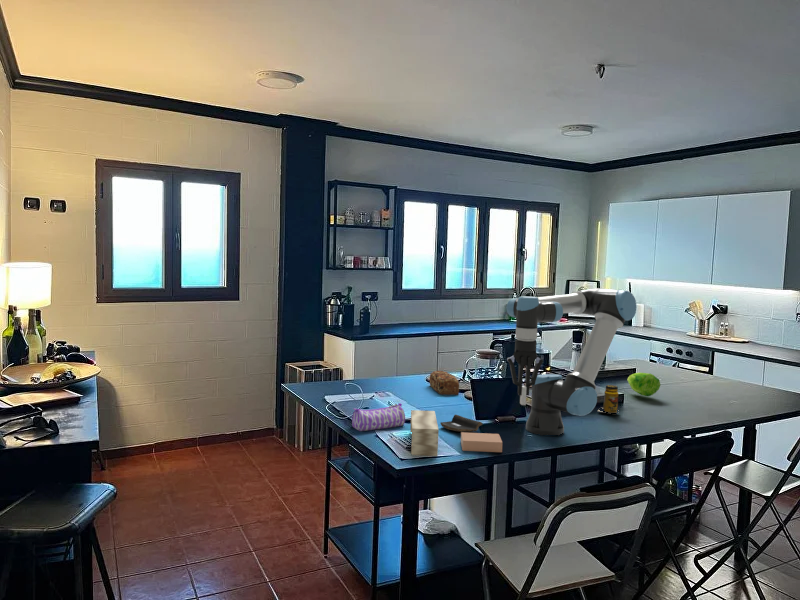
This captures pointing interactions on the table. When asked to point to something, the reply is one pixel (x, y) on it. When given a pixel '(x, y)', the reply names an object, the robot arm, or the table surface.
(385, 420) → the pencil case
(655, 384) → the green mango
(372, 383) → the table surface
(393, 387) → the table surface
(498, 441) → the tile
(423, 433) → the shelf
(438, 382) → the bread
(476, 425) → the pottery fragment
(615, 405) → the condiment
